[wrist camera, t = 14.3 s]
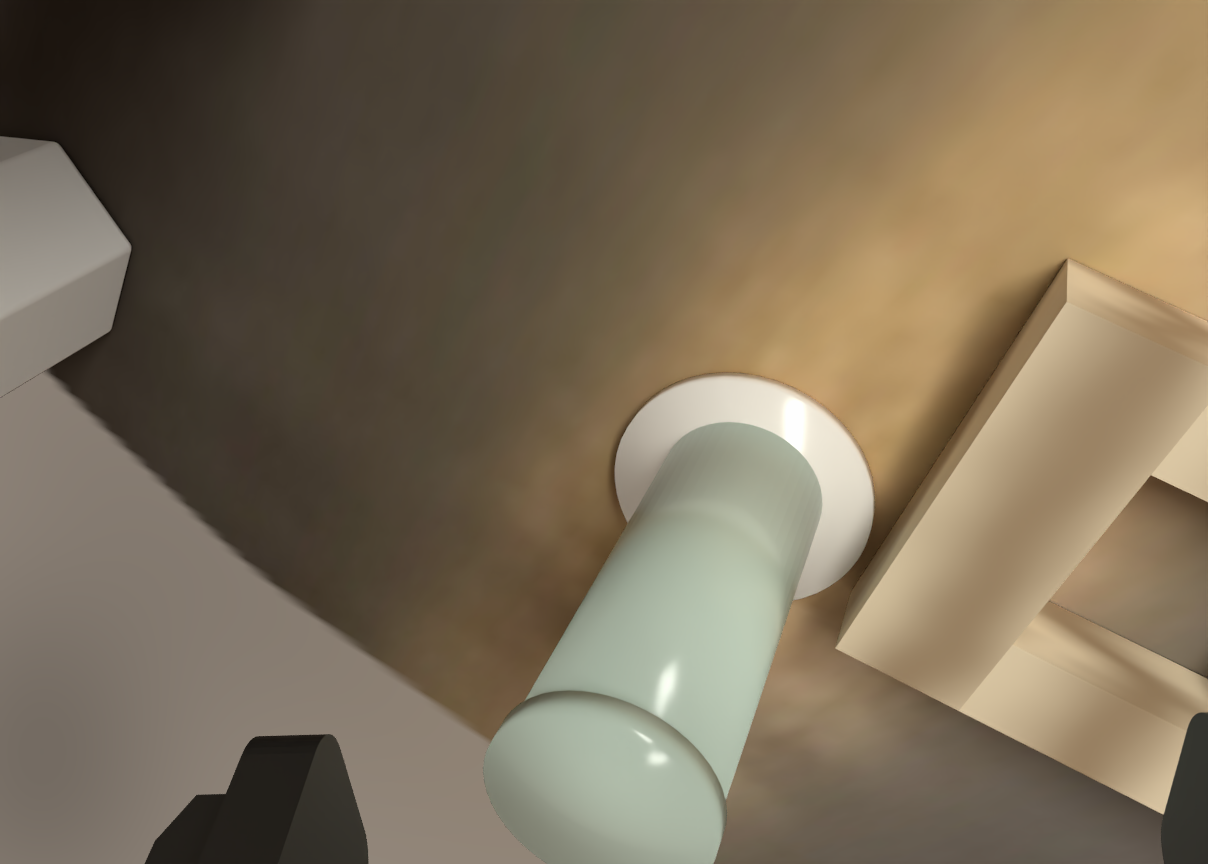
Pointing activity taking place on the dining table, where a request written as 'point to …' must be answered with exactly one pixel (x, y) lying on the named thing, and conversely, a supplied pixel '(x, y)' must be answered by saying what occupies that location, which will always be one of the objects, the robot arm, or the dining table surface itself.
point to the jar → (52, 260)
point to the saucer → (783, 415)
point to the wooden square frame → (1049, 537)
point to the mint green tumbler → (662, 661)
